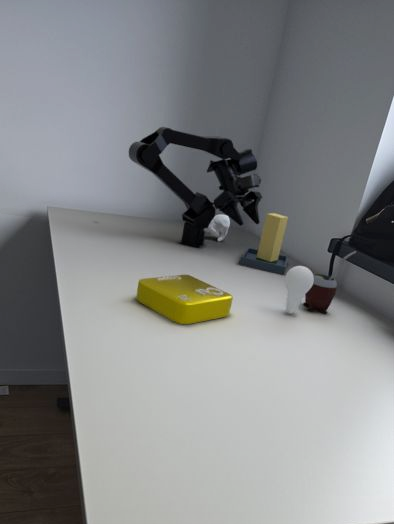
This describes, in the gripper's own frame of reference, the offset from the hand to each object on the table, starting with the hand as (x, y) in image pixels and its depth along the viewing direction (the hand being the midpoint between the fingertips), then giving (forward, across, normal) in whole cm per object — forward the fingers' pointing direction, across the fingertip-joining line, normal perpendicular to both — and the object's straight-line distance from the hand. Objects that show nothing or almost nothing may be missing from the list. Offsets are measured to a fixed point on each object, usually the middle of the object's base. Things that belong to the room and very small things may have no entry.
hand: (250, 224), depth 150 cm
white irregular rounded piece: (-7, +8, +21) cm, 24 cm away
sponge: (+12, 0, +1) cm, 12 cm away
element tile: (+22, -54, -8) cm, 59 cm away
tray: (+13, 0, +2) cm, 13 cm away
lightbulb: (+32, -33, -17) cm, 49 cm away
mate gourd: (+33, -23, -19) cm, 45 cm away
